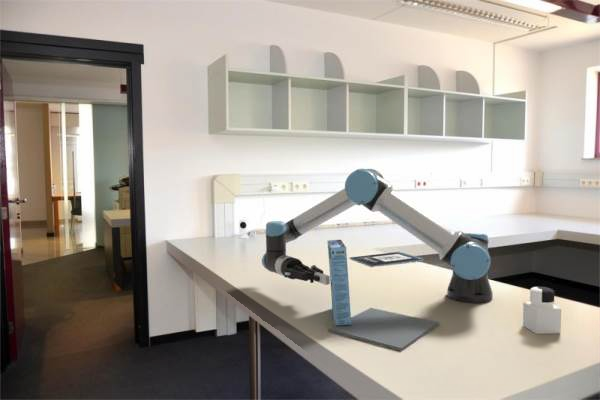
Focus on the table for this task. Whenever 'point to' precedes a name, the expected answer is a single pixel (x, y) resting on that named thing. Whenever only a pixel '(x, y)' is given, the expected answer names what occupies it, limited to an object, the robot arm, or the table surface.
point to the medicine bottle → (542, 312)
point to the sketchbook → (386, 259)
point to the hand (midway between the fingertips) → (327, 280)
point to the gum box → (339, 282)
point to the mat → (385, 328)
